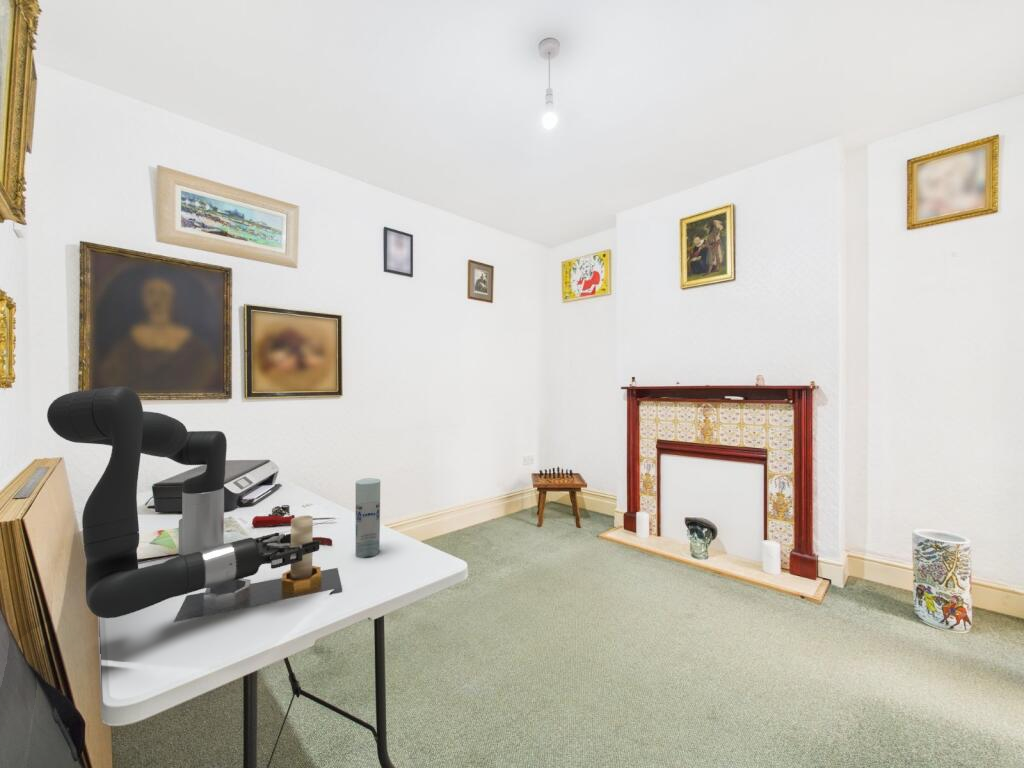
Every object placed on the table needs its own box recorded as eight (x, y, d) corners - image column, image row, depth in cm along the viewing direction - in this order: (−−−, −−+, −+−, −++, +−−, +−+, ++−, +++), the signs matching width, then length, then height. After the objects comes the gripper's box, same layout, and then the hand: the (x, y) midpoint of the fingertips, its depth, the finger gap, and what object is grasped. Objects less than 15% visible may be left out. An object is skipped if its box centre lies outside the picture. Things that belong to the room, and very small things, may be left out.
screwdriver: (333, 525, 137) (334, 514, 137) (251, 529, 133) (251, 518, 133) (336, 521, 140) (336, 511, 140) (256, 525, 136) (256, 514, 136)
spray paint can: (354, 550, 116) (354, 479, 116) (378, 547, 119) (378, 477, 119) (355, 560, 110) (356, 484, 110) (381, 555, 113) (382, 482, 113)
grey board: (173, 627, 79) (173, 608, 79) (186, 600, 89) (186, 584, 89) (341, 591, 93) (342, 576, 93) (337, 571, 103) (337, 557, 103)
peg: (286, 588, 93) (286, 521, 92) (298, 579, 97) (298, 515, 97) (304, 590, 92) (305, 522, 92) (316, 580, 96) (316, 516, 96)
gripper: (239, 553, 79) (324, 531, 91) (218, 535, 88) (298, 517, 101) (239, 593, 79) (324, 565, 91) (218, 570, 88) (297, 547, 101)
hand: (310, 540), depth 96 cm, fingers open, 8 cm apart
